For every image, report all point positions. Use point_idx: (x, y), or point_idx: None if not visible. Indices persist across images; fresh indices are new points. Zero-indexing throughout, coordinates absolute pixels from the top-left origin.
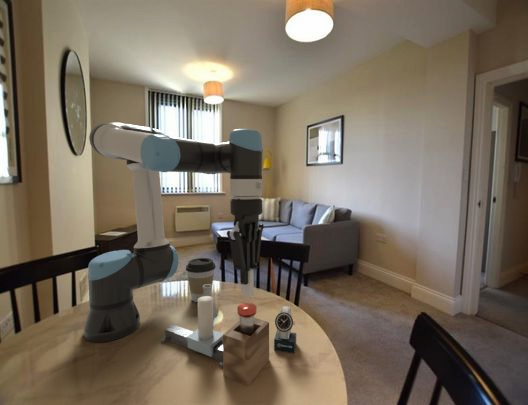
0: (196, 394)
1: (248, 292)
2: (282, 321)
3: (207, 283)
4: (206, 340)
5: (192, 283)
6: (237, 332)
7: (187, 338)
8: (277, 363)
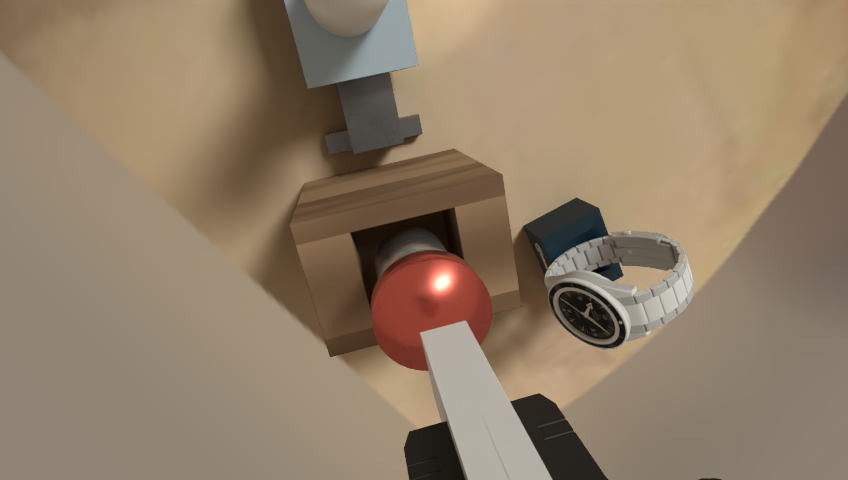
0: (181, 183)
1: (440, 414)
2: (585, 308)
3: None
4: (320, 35)
5: None
6: (353, 263)
7: None
8: None
